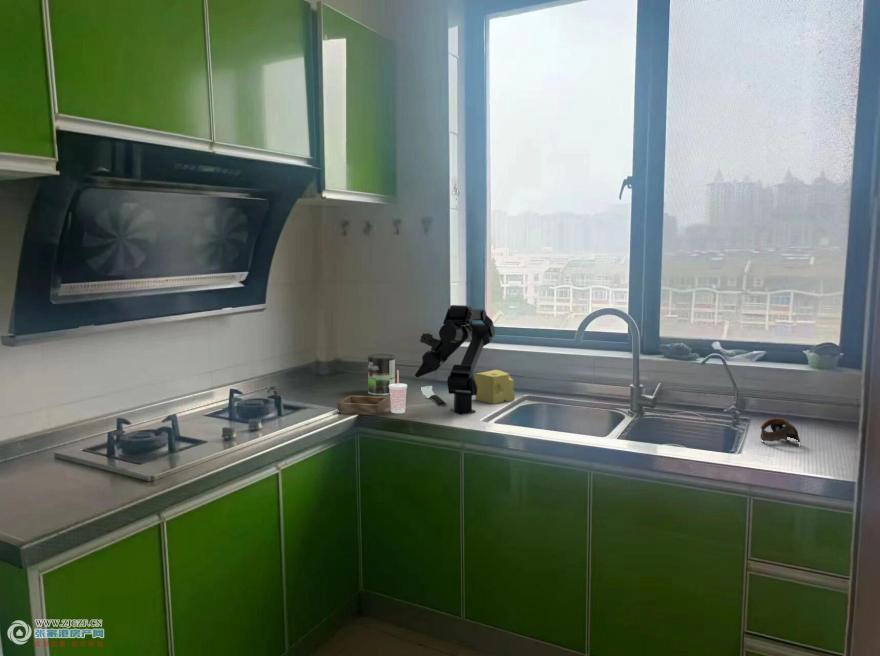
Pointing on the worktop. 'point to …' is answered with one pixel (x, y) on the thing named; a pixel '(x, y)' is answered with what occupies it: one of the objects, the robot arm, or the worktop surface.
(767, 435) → the brown openwork dome
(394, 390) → the beverage cup
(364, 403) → the tray
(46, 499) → the worktop surface
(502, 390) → the cheese
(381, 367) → the coffee can
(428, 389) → the kitchen cleaver
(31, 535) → the worktop surface
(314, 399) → the worktop surface
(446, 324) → the robot arm
